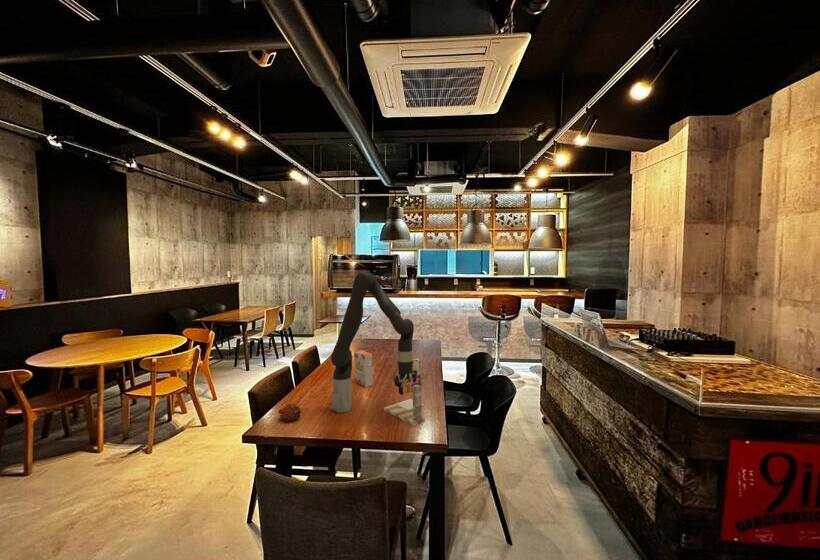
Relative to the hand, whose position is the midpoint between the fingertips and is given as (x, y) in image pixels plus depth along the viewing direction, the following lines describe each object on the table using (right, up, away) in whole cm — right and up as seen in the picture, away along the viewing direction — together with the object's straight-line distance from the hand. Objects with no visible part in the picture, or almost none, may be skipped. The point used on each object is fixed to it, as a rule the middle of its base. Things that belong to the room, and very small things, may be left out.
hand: (405, 392), depth 172 cm
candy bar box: (+3, -11, +48) cm, 49 cm away
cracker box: (-28, -11, +50) cm, 59 cm away
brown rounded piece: (-58, -13, -1) cm, 60 cm away
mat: (+2, -12, +15) cm, 20 cm away
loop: (0, -1, 0) cm, 1 cm away
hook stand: (-1, -12, +2) cm, 13 cm away
